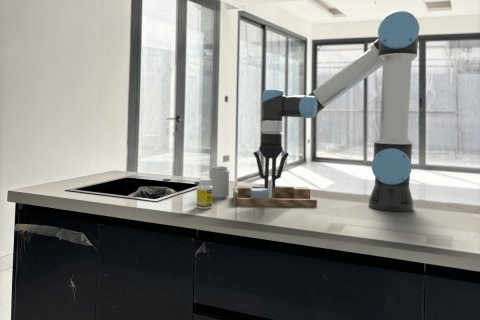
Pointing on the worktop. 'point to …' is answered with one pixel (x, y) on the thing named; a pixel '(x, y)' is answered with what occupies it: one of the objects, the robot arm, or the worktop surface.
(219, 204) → the worktop surface
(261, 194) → the block
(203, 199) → the supplement bottle
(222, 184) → the can
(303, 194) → the box
